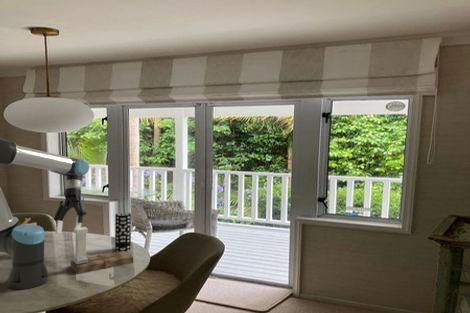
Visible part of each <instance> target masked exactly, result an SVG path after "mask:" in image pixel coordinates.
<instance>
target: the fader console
mask: <svg viewBox="0 0 470 313" xmlns="http://www.w3.org/2000/svg"><path fill="white" fill-rule="evenodd" d="M86 257H87V256H86ZM87 258H88V262H87V263H81V264H76V263H75V262H74V261H73V259H72V260H70V267H71V269H72V270H73V271H74V272H75V273H76V274H77V275H79V274H83V273H90V272H94V271H99V270H103V269H109V268H113V267H119V266H123V265H128V264H134V256H133V255H131V254H129V252H127V251H126V252H125V251H121V252H117V251H115V252H111V253H105V254H98V255H94V256H88V257H87Z"/></svg>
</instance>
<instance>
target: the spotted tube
mask: <svg viewBox="0 0 470 313" xmlns="http://www.w3.org/2000/svg"><path fill="white" fill-rule="evenodd" d="M114 220H115V221H114V223H115V224H114V228H115V229H114V231H115V232H114V234H115V235H114V251H115V252H121V251H125V252H126V253H127V252H129V251H131V250H130V249H132V246H131V245H132V244H131V243H132V242H131V241H132V236H131V235H132V213H129V212H120V213H115V217H114Z"/></svg>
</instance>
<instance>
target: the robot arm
mask: <svg viewBox="0 0 470 313" xmlns="http://www.w3.org/2000/svg"><path fill="white" fill-rule="evenodd" d="M12 164H13V165H18V166H25V167H30V168H36V169H41V170H46V171H50V172H51V173H55V174H58V175H61V176H64V177H66V178H65V179H66V180H65V186H64V195H63V196H64V198H65V200H64V201H63V200H60V202H59V206H58V208H57V210H56V213H55V215H54V218H53V221H55V222H56V223H55V224H56V225H55V228H56V229H55V235H62V232H63V225H64V221H63V219H64V218H65V216H66V215H67V213H68V212H69V211H70V210H71V209H72V208H73V209H74V210H75V212H76V214H77V215H76V219H75V227H74V228H80V227H82V223H83V220H84V216H85V215H87V213H88V212H87V209H86V205H85V197H84V196H82V195H81V194H82V187H83V186H82V184H83V179H84V178H83V177H84V176H85V175H86V174H88V173H89V170H90V164H89V162H88V161H87V160H85V159H81V158H73V157H69V156H64V155H61V154H56V153H53V152H47V151H44V150H38V149H34V148H31V147H26V146H23V145H17V143H16V142H14V141H11V140H8V139H3V138H1V137H0V165H6V166H10V165H12ZM45 237H46V236H45V230H44V228H43V227H42V226H40V225H21V223H20V219H19V218H18V217H16V216H13V213H12V212H11V209H10V207H9V203H8V202H7V199H6V197H5V194H4V192H3V190H2V188H1V186H0V253H3V254H8V255H11V259H12V260H11V262H12V264H11V269H10V272H9V275H8V277H7V280H6V286H7V288H8V289H11V290H12V289H13V290H26V289H31V288H32V289H33V288H35V287H39V286H42V285H44V284H46V283H47V282H48V281H49V278H50V276H49V275H50V273H49V270H48V268H47V266H46V262H45Z"/></svg>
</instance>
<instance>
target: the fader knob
mask: <svg viewBox="0 0 470 313" xmlns="http://www.w3.org/2000/svg"><path fill="white" fill-rule="evenodd" d="M73 233H74V234H75V256H74V257H73V258H72V260H73V261H74V262H75V263H76V264H81V263H87V262H88V258H87V234H89V229H88V227H86V226H81V227H80V228H75V227H74V228H73Z"/></svg>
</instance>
